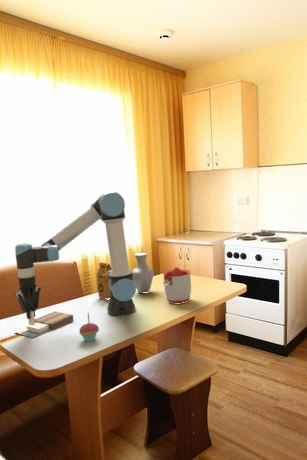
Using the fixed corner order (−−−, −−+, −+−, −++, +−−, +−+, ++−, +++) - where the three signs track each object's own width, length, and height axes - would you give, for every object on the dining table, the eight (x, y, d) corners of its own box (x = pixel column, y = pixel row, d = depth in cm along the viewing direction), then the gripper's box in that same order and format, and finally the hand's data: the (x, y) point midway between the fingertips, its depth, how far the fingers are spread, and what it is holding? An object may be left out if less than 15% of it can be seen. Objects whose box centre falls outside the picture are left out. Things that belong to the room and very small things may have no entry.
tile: (49, 328, 176) (48, 324, 176) (39, 333, 171) (38, 329, 171) (37, 325, 181) (37, 322, 181) (27, 330, 176) (26, 326, 176)
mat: (51, 330, 175) (51, 329, 175) (32, 338, 166) (32, 337, 166) (33, 325, 183) (33, 324, 183) (14, 333, 174) (14, 332, 174)
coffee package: (106, 301, 215) (102, 265, 213) (96, 297, 225) (93, 263, 223) (120, 298, 221) (117, 262, 219) (110, 294, 231) (107, 260, 229)
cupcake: (81, 336, 164) (79, 311, 163) (100, 334, 165) (98, 309, 164) (79, 344, 156) (76, 317, 155) (99, 342, 156) (96, 315, 155)
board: (73, 320, 187) (72, 314, 186) (51, 330, 175) (51, 324, 175) (55, 316, 195) (55, 311, 194) (33, 325, 183) (33, 319, 183)
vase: (129, 292, 233) (126, 254, 231) (149, 288, 239) (146, 251, 237) (137, 297, 220) (134, 257, 218) (158, 293, 226) (156, 253, 224)
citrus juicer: (157, 303, 206) (154, 268, 204) (178, 295, 217) (176, 263, 215) (176, 308, 194) (174, 272, 192) (198, 300, 205) (196, 266, 203)
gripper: (33, 272, 178) (38, 318, 181) (9, 278, 168) (15, 327, 170) (42, 273, 174) (47, 321, 176) (19, 280, 163) (25, 330, 166)
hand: (31, 324), depth 173 cm, fingers closed
